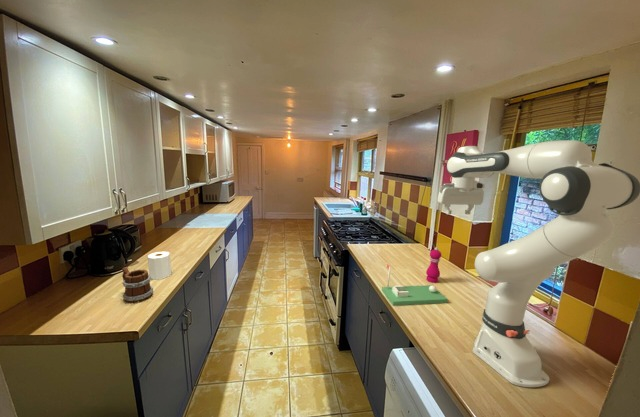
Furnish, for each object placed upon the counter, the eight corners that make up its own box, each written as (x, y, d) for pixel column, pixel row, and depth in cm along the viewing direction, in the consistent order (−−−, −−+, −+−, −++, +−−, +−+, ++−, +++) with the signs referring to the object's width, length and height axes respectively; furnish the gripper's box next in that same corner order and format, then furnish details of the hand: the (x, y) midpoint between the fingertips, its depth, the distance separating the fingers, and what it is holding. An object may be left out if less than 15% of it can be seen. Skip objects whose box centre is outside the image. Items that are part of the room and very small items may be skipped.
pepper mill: (440, 284, 145) (444, 250, 142) (426, 282, 147) (430, 248, 143) (437, 278, 152) (441, 246, 148) (424, 276, 154) (428, 244, 150)
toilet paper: (145, 279, 138) (143, 258, 136) (156, 271, 148) (154, 251, 146) (164, 279, 138) (163, 258, 136) (174, 271, 149) (173, 251, 146)
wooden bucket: (135, 306, 114) (128, 273, 112) (115, 303, 119) (107, 272, 117) (160, 293, 124) (153, 263, 122) (140, 292, 130) (134, 263, 128)
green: (447, 302, 126) (451, 276, 124) (392, 305, 122) (395, 278, 119) (429, 287, 141) (432, 263, 139) (380, 289, 137) (382, 264, 135)
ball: (437, 293, 131) (438, 287, 130) (430, 293, 130) (431, 287, 130) (433, 290, 134) (434, 284, 133) (427, 290, 134) (428, 284, 133)
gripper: (445, 183, 110) (441, 215, 113) (488, 184, 113) (483, 215, 116) (436, 182, 116) (432, 212, 119) (477, 183, 119) (473, 212, 122)
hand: (458, 214), depth 117 cm, fingers open, 8 cm apart
